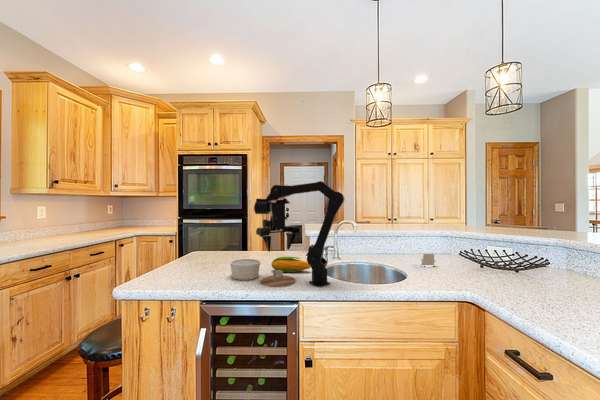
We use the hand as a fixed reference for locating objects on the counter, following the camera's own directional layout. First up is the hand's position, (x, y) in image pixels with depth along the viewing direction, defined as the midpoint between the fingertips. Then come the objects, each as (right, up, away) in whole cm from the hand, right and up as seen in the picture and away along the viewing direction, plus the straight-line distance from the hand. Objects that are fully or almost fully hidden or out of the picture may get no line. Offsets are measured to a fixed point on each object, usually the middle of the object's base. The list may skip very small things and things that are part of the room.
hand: (278, 250), depth 115 cm
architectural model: (+76, -14, +25) cm, 81 cm away
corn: (+5, -13, +15) cm, 21 cm away
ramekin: (-16, -13, +5) cm, 21 cm away
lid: (0, -13, -1) cm, 13 cm away
